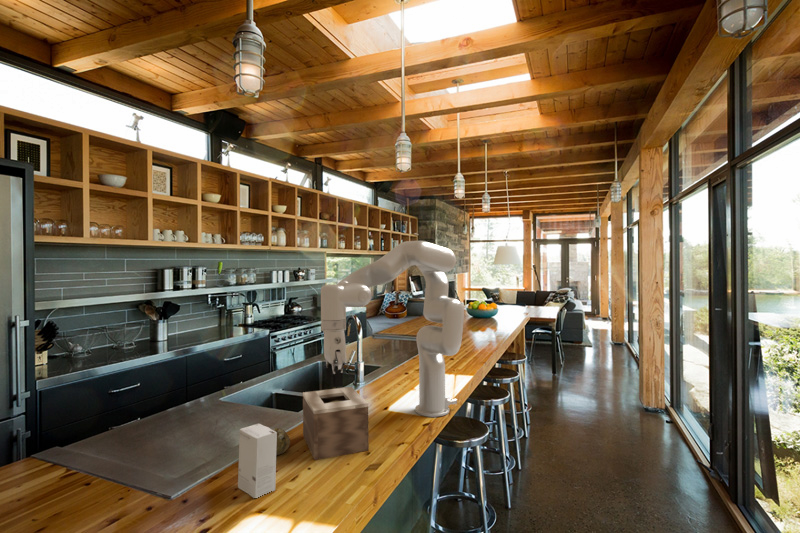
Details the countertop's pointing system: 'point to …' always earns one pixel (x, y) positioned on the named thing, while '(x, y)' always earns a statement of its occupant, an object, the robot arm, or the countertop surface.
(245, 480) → the skincare box
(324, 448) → the drop box
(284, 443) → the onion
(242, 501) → the countertop surface
